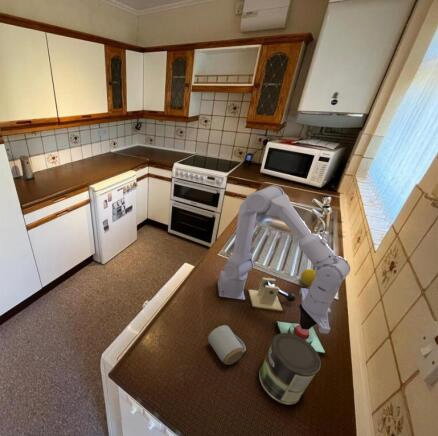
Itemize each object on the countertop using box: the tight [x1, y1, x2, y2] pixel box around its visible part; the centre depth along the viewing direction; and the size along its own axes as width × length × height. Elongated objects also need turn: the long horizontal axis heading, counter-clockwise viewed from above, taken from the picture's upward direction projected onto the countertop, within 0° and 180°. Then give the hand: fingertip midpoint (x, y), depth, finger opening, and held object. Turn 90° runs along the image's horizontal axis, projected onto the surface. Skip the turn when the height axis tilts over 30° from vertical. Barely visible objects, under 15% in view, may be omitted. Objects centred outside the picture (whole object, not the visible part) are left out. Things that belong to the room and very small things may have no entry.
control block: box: [275, 320, 326, 355], centre depth 75 cm, size 11×9×3 cm
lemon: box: [300, 268, 316, 287], centre depth 95 cm, size 6×6×8 cm
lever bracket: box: [248, 277, 283, 312], centre depth 87 cm, size 10×8×9 cm
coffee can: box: [258, 332, 322, 405], centre depth 61 cm, size 10×10×14 cm
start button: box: [295, 325, 309, 339], centre depth 74 cm, size 4×4×2 cm
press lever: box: [263, 281, 296, 303], centre depth 86 cm, size 12×3×3 cm, turn 81°
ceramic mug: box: [207, 324, 247, 366], centre depth 70 cm, size 11×8×8 cm
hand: (304, 327), depth 73 cm, fingers closed
